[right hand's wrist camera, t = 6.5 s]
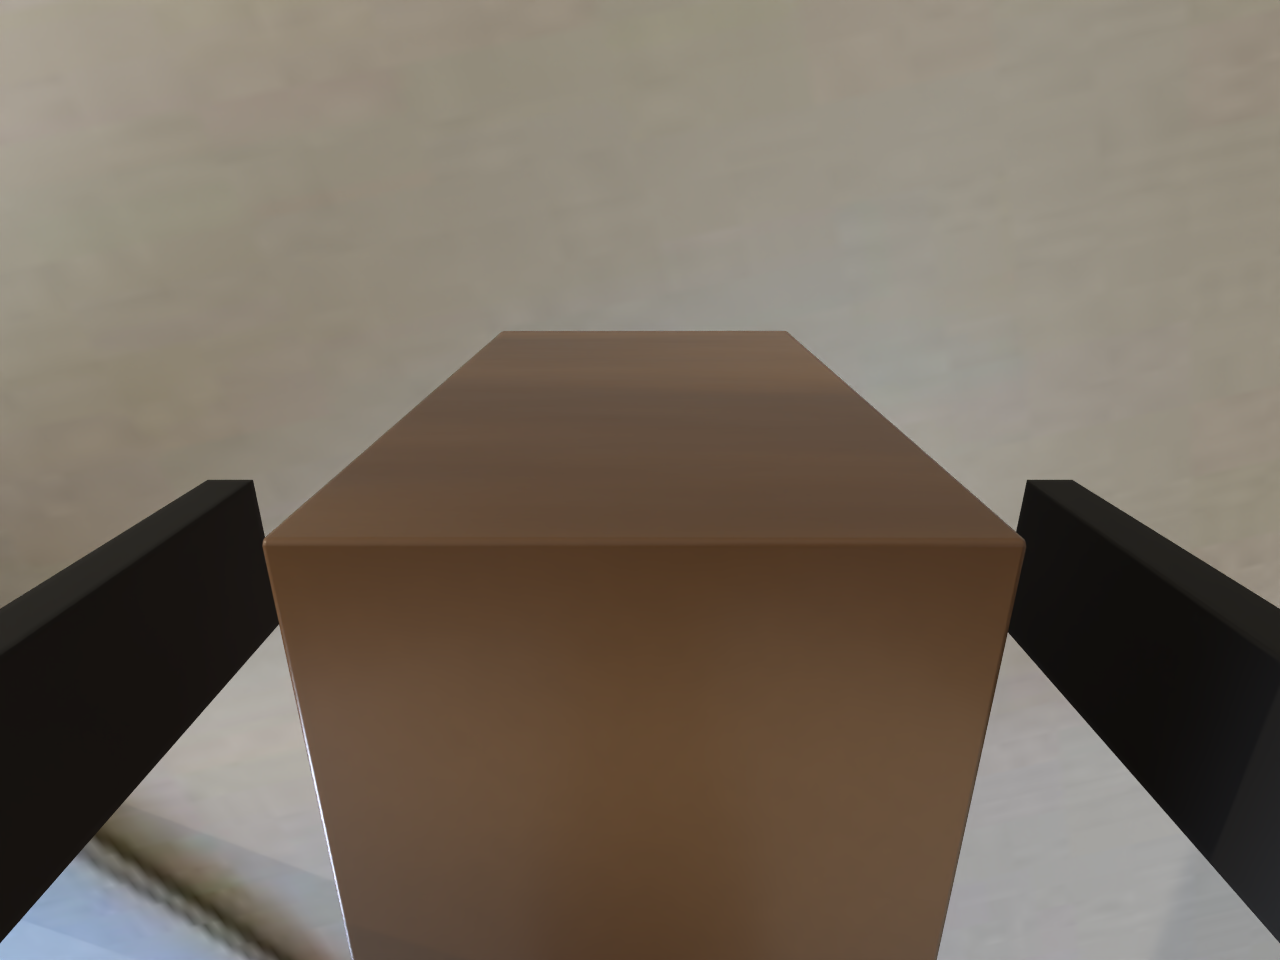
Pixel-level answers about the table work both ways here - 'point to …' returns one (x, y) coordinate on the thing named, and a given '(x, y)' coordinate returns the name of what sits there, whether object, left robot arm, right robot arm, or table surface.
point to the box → (644, 660)
